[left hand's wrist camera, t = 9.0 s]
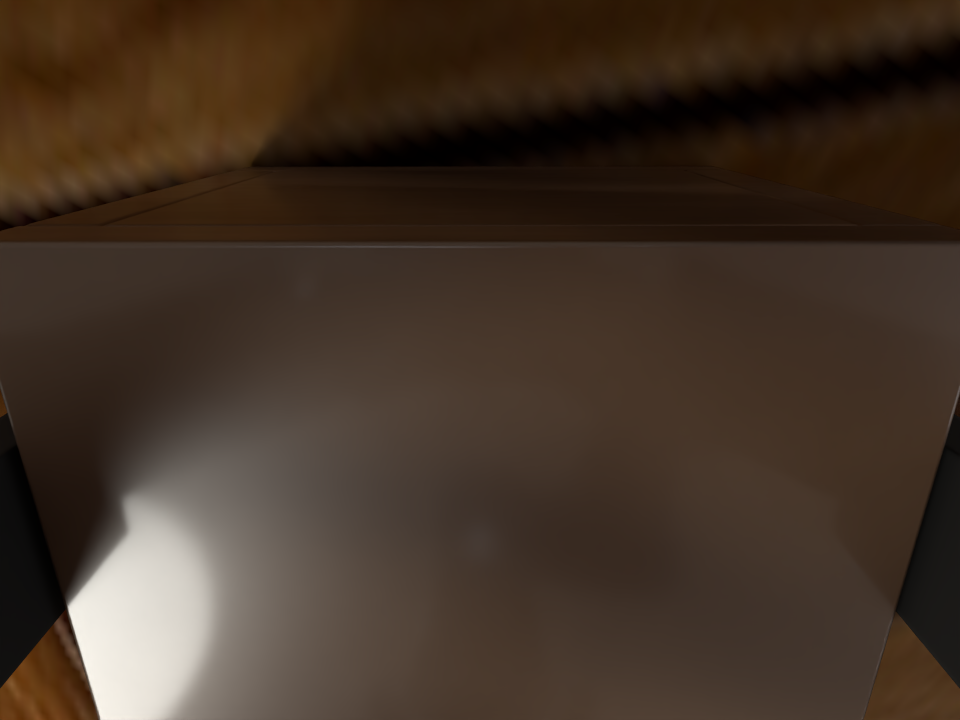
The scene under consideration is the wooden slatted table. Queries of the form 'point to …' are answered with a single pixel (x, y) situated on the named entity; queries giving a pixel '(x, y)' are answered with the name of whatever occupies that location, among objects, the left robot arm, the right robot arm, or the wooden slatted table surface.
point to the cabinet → (480, 440)
